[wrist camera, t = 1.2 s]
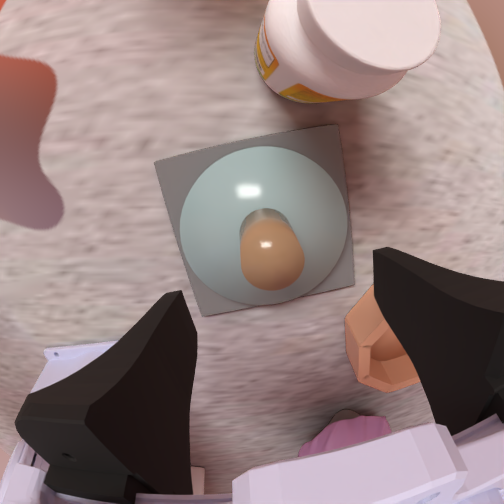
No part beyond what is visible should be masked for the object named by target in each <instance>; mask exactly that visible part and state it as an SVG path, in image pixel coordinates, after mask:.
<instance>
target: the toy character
mask: <svg viewBox="0 0 504 504" xmlns="http://www.w3.org/2000/svg"><path fill="white" fill-rule="evenodd" d="M389 433H392V432H391V429H390V427H389V424H388V422H387V420H386V417H385V416H382V417H379V416H364V415H362V416H360V415H359V414H357V413H356V412H354V411H352V410H348V409H344V410H341V411H339V412H338V413H337V414H336V415H335V416H334V417H333V418H332V419H331V421H330V423H329V425H328V426H327V427H325V428H324V429H323V430H322V432H320V433H319V434H318V435H317V436H316V437H315V438H314V439H313V440H311V441H309V442H306V443H305V444H304V445H303V446H302V447H301V449H300V450H299V454H298V457H302V456H307V455H312V454H316V453H321V452H325V451H330V450H334V449H338V448H342V447H346V446H349V445H353V444H357V443H360V442H364V441H367V440H370V439H374V438H377V437H380V436H383V435H386V434H389Z"/></svg>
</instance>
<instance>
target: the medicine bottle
mask: <svg viewBox="0 0 504 504" xmlns="http://www.w3.org/2000/svg"><path fill="white" fill-rule="evenodd" d="M204 475H205V470H204V468H202V467H194V466H191V477H192V487H193V495H204Z"/></svg>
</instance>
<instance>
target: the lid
mask: <svg viewBox="0 0 504 504" xmlns="http://www.w3.org/2000/svg"><path fill="white" fill-rule="evenodd" d="M346 235H347V213H346V207H345V204H344V200H343V197H342V195H341V193H340V191H339V189H338V187H337V185H336V184H335V182H334V181H333V179H332V178H331V177H330V176H329V175H328V173H327V172H326V171H325V170H324V169H323V168H321V167H320V166H319V165H318V164H317V163H315V162H314V161H312V160H311V159H309V158H307V157H306V156H304V155H302V154H300V153H298V152H295V151H293V150H290V149H286V148H282V147H276V146H254V147H247V148H243V149H240V150H236V151H234V152H232V153H229V154H227V155H225V156H223V157H222V158H220V159H218V160H217V161H215V162H214V163H213V164H211V165H210V166H209V167H208V168H207V169H206V170H205V171H204V172H203V173H202V174H201V175H200V176H199V177H198V179H197V180H196V182H195V183H194V184H193V186H192V188H191V190H190V192H189V194H188V196H187V197H186V200H185V203H184V206H183V209H182V213H181V218H180V238H181V244H182V248H183V252H184V254H185V257H186V259H187V261H188V263H189V265H190V267H191V269H192V270H193V271H194V273H195V274H196V275H197V277H198V278H199V279H200V280H201V281H202V282H203V283H204V284H205V285H206V286H208V287H209V288H210V289H212V290H213V291H215V292H216V293H218V294H220V295H221V296H223V297H226V298H228V299H230V300H233V301H236V302H240V303H245V304H251V305H271V304H278V303H282V302H286V301H289V300H292V299H295V298H297V297H299V296H301V295H303V294H305V293H307V292H309V291H310V290H311V289H313V288H314V287H316V286H317V285H318V284H319V283H320V282H322V281H323V280H324V279H325V278H326V276H327V275H328V274H329V273H330V272H331V270H332V269H333V268H334V266H335V265H336V263H337V261H338V259H339V257H340V256H341V253H342V250H343V248H344V244H345V240H346Z"/></svg>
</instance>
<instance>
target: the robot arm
mask: <svg viewBox="0 0 504 504" xmlns="http://www.w3.org/2000/svg"><path fill="white" fill-rule="evenodd" d="M373 272H374V298H375V300H376V302H377V304H378V307H379V309H380V311H381V313H382V315H383V317H384V318H385V320H386V322H387V323H388V325H389V326H390V328H391V329H392V331H393V333H394V334H395V336H396V337H397V339H398V340H399V342H400V343H401V345H402V347H403V348H404V350H405V351H406V353H407V355H408V356H409V358H410V360H411V362H412V363H413V365H414V367H415V370H416V372H417V374H418V376H419V379H420V381H421V383H422V386H423V388H424V391H425V393H426V396H427V398H428V401H429V404H430V407H431V410H432V413H433V416H434V419H435V422H436V423H429V422H428V423H424V424H420V425H415V426H411V427H407V428H404V429H401V430H398V431H395V432H392V433H389V434H386V435H383V436H380V437H377V438H374V439H370V440H367V441H364V442H360V443H357V444H353V445H349V446H346V447H342V448H338V449H334V450H330V451H325V452H321V453H316V454H312V455H307V456H302V457H297V458H291V459H286V460H280V461H276V462H272V463H268V464H264V465H260V466H256V467H252V468H251V469H249V470H248V471H246V472H245V473H243V474H241V475H240V476H238V477H237V478H235V479H234V480H233V481H232V493H226V494H207V495H193V487H192V477H191V463H190V440H189V413H190V402H191V395H192V388H193V381H194V375H195V368H196V361H197V331H196V328H195V326H194V323H193V320H192V318H191V315H190V312H189V310H188V307H187V304H186V302H185V299H184V296H183V293H182V291H181V290H180V291H174V292H169V293H166V294H164V295H163V296H162V297H161V298H160V299H159V300H158V301H157V302H156V303H155V304H154V305H153V306H152V307H151V309H150V310H149V311H148V312H147V313H146V314H145V315H144V316H143V317H142V318H141V319H140V320H139V321H138V322H137V323H136V324H135V325H134V326H133V327H132V328H131V329H130V330H129V331H128V332H127V333H126V334H125V335H124V336H123V337H122V338H121V339H120V340H117V341H109V342H101V343H92V344H83V345H74V346H64V347H53V348H46V349H45V350H44V355H45V357H46V359H47V360H48V362H47V363H46V365H45V367H44V369H43V370H42V372H41V374H40V376H39V378H38V379H37V381H36V383H35V385H34V387H33V389H32V390H31V392H30V394H28V396H27V398H26V400H25V402H24V404H23V406H22V408H21V410H20V412H19V414H18V416H17V418H16V420H15V426H16V429H17V431H18V433H19V434H20V436H21V437H22V440H21V441H18V443H17V445H16V447H15V449H14V451H13V453H12V455H11V458H10V460H9V462H8V465H7V467H6V469H5V472H4V474H3V477H2V480H1V482H0V504H504V282H503V281H495V280H489V279H483V278H478V277H474V276H470V275H466V274H462V273H458V272H455V271H452V270H449V269H446V268H443V267H440V266H437V265H435V264H432V263H429V262H427V261H424V260H422V259H419V258H417V257H414V256H412V255H409V254H407V253H404V252H402V251H399V250H396V249H393V248H390V247H385V248H381V249H376V250H373Z"/></svg>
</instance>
